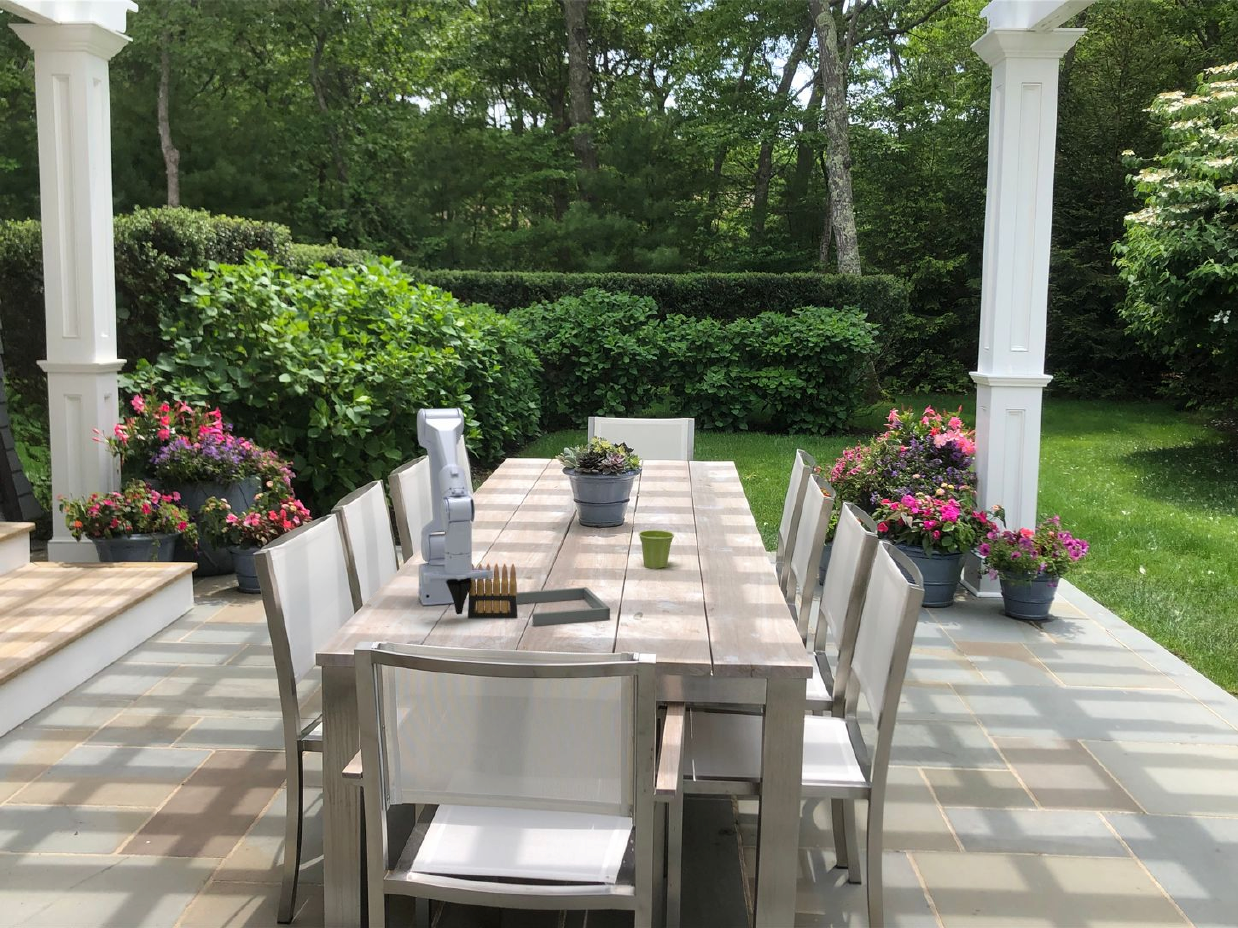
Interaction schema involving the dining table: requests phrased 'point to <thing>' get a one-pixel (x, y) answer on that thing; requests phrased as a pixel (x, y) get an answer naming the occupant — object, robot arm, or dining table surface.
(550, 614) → the frame
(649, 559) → the plant pot
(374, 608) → the dining table surface
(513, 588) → the ammunition clip
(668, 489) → the dining table surface
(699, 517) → the dining table surface
